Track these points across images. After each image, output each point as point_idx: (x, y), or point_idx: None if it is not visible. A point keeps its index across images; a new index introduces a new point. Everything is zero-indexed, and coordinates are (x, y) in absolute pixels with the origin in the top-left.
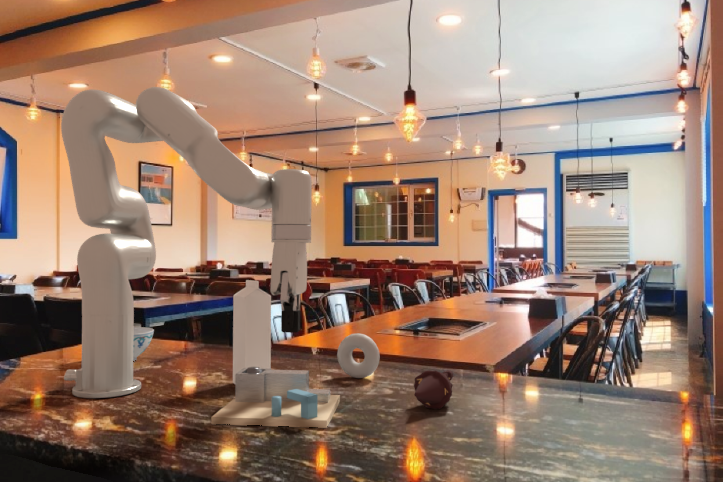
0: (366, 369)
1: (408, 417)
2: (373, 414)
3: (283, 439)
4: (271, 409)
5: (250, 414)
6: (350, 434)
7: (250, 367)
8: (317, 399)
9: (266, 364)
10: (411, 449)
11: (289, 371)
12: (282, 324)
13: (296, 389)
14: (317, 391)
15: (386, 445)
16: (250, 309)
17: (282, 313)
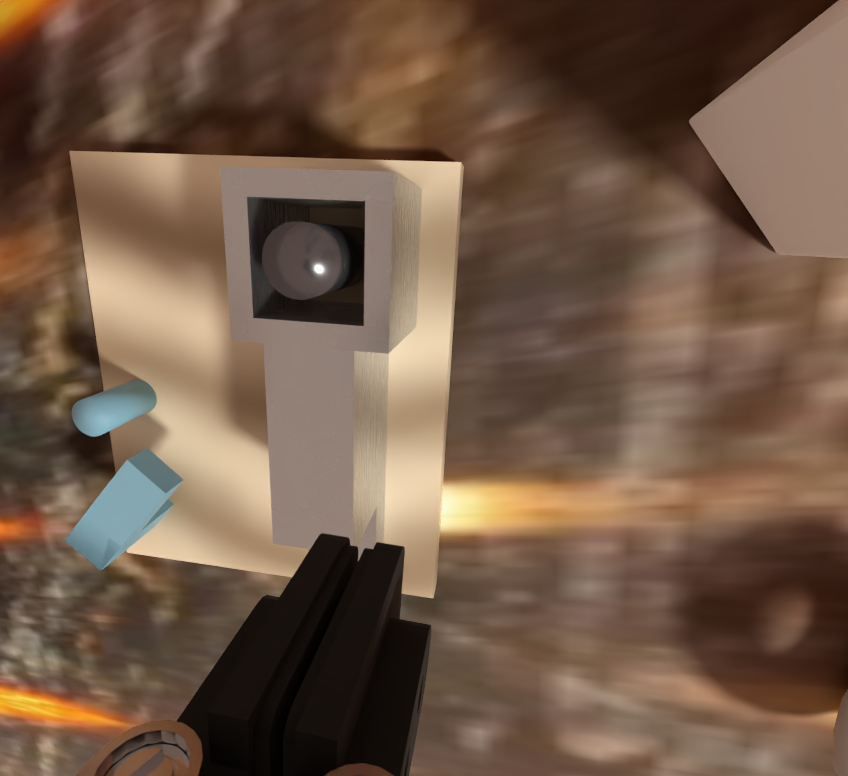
0: (840, 749)
1: None
2: None
3: (28, 430)
4: (206, 366)
5: (132, 300)
6: (110, 595)
7: (306, 238)
8: (113, 559)
9: (835, 231)
10: (50, 705)
11: (320, 463)
12: (292, 584)
13: (155, 493)
14: None
15: (58, 663)
16: None
17: (230, 690)
